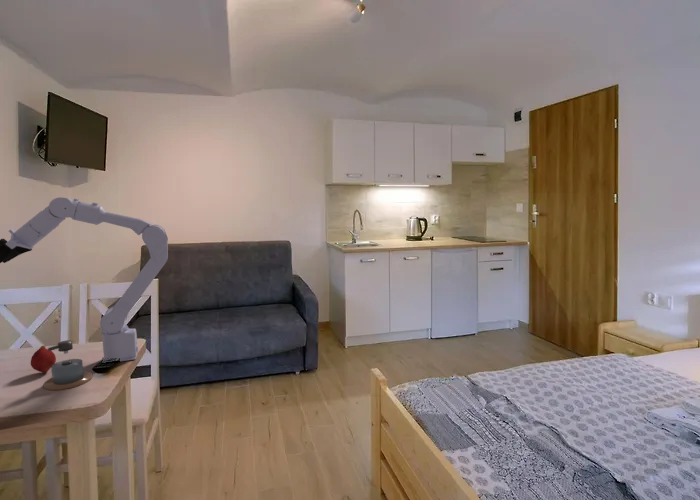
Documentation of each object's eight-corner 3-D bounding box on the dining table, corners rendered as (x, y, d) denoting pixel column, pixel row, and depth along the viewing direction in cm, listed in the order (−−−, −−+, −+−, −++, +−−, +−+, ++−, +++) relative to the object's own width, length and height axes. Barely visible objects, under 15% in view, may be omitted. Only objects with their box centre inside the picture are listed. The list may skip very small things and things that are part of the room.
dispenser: (95, 370, 121) (94, 352, 120) (88, 385, 111) (86, 365, 110) (50, 377, 117) (48, 358, 116) (38, 393, 107) (36, 372, 106)
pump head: (74, 350, 115) (73, 339, 115) (70, 356, 111) (69, 345, 110) (53, 352, 113) (52, 342, 113) (48, 358, 109) (47, 347, 109)
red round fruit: (37, 378, 116) (34, 350, 115) (28, 374, 119) (25, 347, 118) (60, 371, 121) (58, 344, 120) (51, 367, 124) (48, 341, 123)
